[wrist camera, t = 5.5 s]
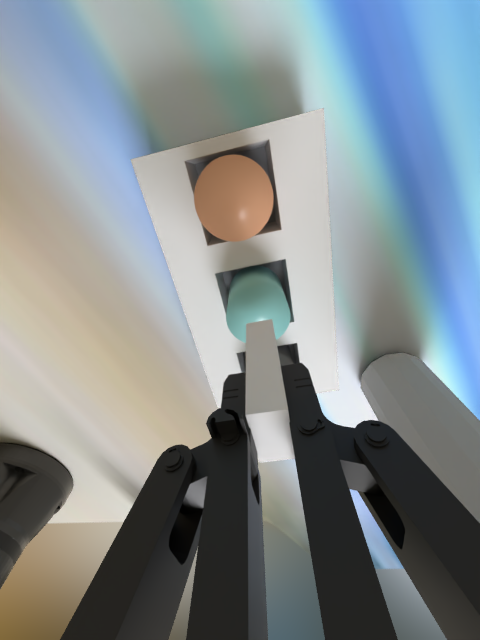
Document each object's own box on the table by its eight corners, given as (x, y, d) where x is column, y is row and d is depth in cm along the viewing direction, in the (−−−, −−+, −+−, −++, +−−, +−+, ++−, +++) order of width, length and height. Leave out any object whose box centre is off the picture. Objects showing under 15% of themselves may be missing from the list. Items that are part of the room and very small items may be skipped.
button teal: (235, 317, 24) (233, 349, 19) (224, 271, 22) (219, 295, 17) (284, 308, 23) (293, 339, 19) (277, 260, 21) (286, 282, 17)
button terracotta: (214, 233, 20) (206, 248, 16) (198, 168, 18) (183, 165, 14) (271, 220, 20) (278, 232, 15) (261, 152, 18) (266, 144, 13)
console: (221, 375, 31) (217, 407, 27) (154, 163, 21) (130, 159, 17) (325, 358, 30) (339, 390, 25) (306, 123, 20) (323, 108, 15)
